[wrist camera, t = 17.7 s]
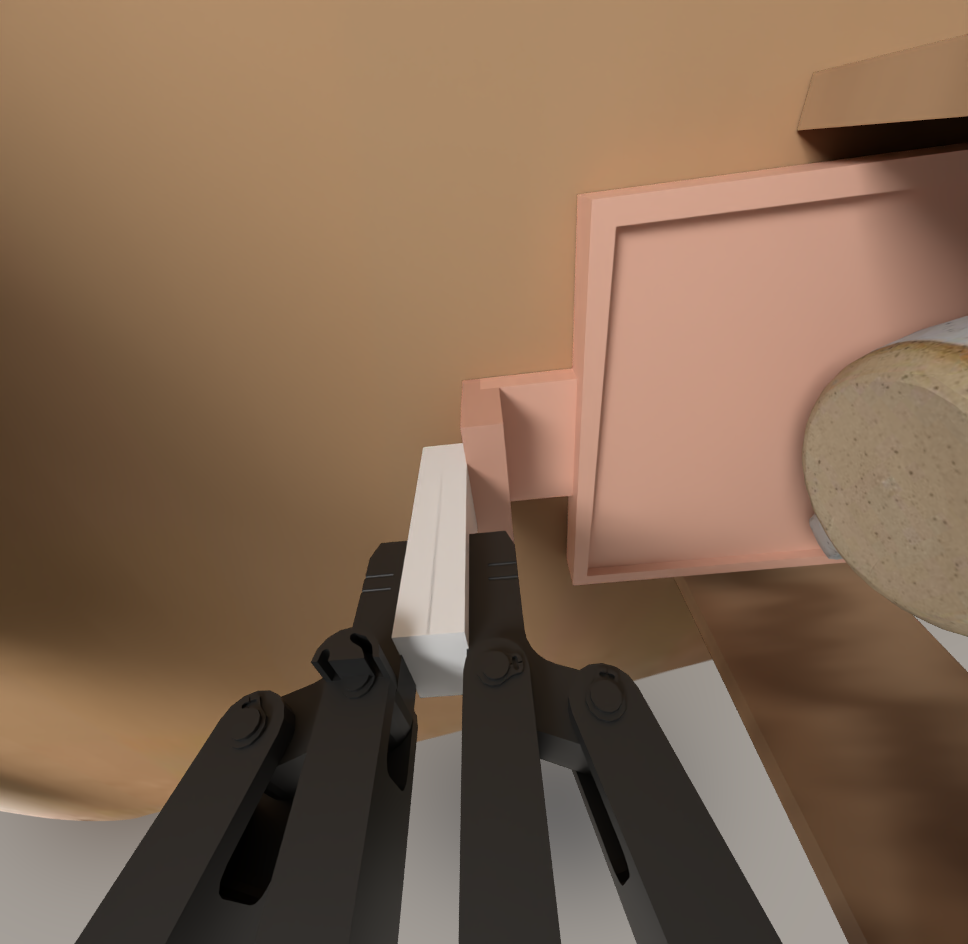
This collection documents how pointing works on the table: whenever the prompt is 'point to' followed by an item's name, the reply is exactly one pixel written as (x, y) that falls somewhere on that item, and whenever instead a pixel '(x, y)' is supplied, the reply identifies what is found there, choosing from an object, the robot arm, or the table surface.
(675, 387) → the tray
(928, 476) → the ceramic mug
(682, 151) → the table surface
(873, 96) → the shelf
